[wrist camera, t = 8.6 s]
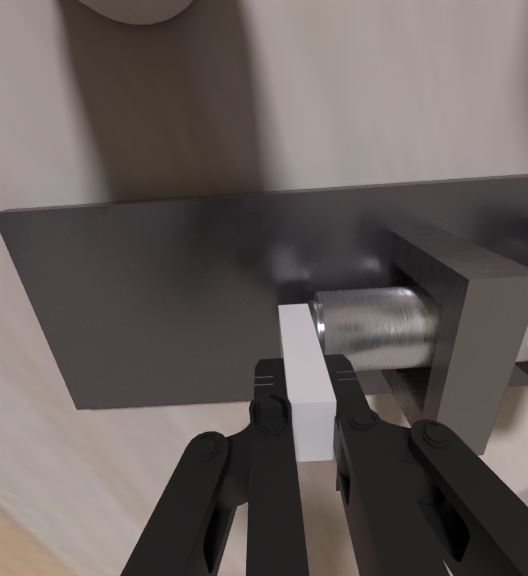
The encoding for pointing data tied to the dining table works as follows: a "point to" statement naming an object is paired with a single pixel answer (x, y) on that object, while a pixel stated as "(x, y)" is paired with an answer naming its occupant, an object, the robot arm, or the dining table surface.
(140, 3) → the coffee cup
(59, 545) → the dining table surface
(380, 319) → the tube
